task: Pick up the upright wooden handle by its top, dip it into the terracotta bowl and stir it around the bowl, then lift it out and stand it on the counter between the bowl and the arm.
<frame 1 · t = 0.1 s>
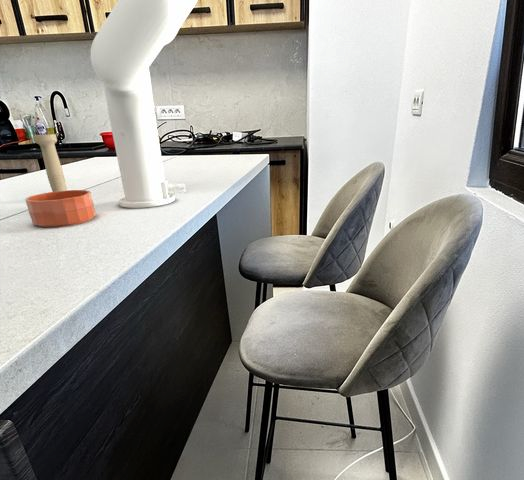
handle: (62, 200, 111), on the table
bowl: (65, 221, 87), on the table
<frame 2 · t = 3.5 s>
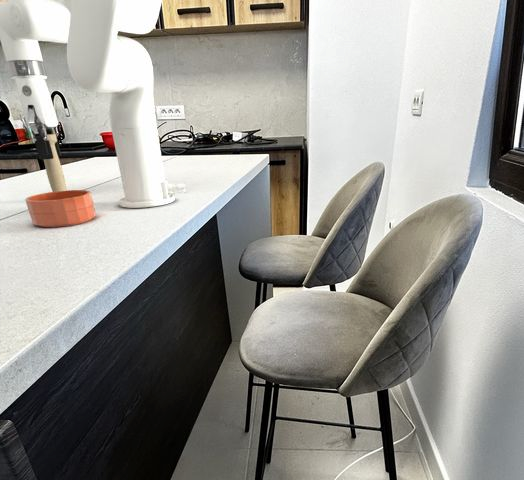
hand: (50, 157, 106), 10 cm above the table, tool pointing down, fingers closed on handle, 6 cm apart
handle: (62, 200, 111), on the table, touching gripper
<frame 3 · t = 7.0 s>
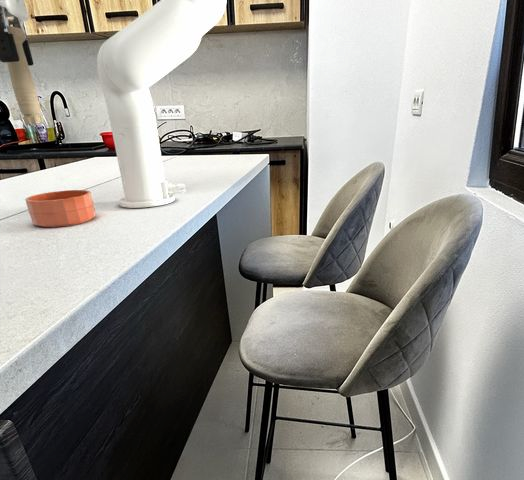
hand: (17, 62, 79), 27 cm above the table, tool pointing down, fingers closed on handle, 6 cm apart
handle: (34, 125, 84), point 17 cm above the table, touching gripper
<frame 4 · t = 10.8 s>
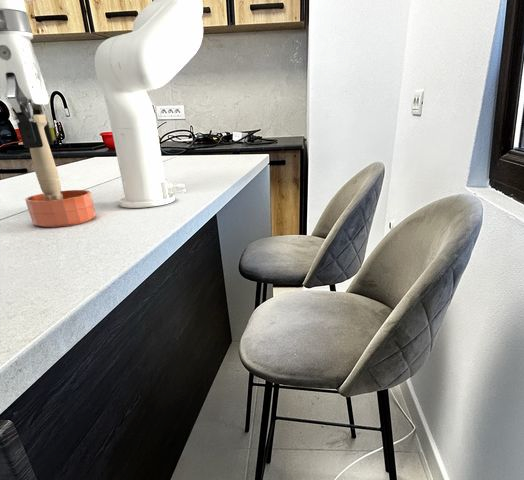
hand: (39, 145, 80), 14 cm above the table, tool pointing down, fingers closed on handle, 6 cm apart
handle: (55, 202, 85), point 4 cm above the table, touching gripper
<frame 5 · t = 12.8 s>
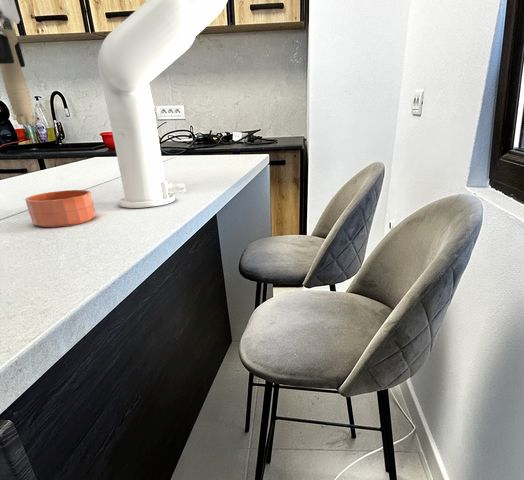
hand: (10, 64, 81), 28 cm above the table, tool pointing down, fingers closed on handle, 6 cm apart
handle: (27, 125, 86), point 17 cm above the table, touching gripper
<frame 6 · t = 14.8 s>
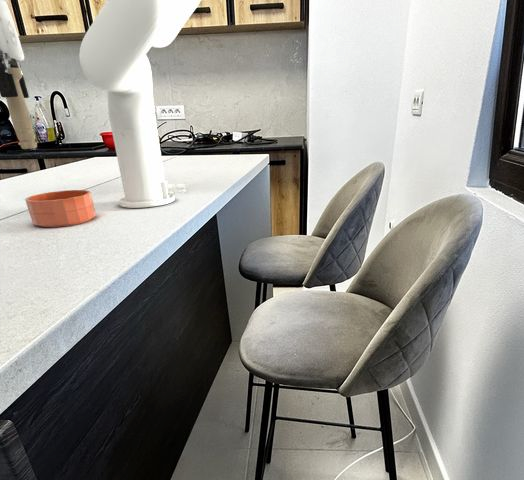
hand: (15, 96, 91), 23 cm above the table, tool pointing down, fingers closed on handle, 6 cm apart
handle: (30, 149, 96), point 12 cm above the table, touching gripper
when the fingers open (10 cm above the table, at t = 18.1 s): handle stays where it is, on the table.
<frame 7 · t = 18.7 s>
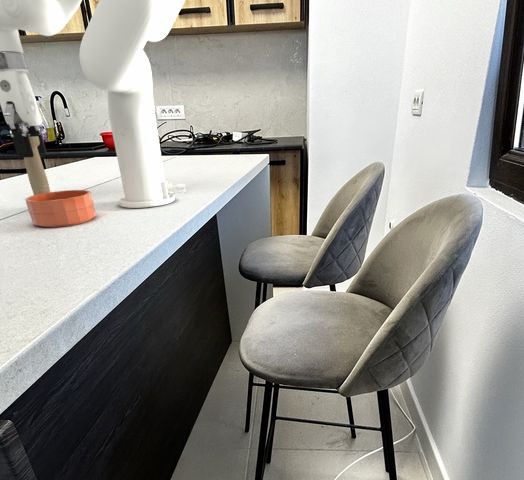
hand: (33, 155, 97), 11 cm above the table, tool pointing down, fingers open, 9 cm apart
handle: (46, 207, 103), on the table
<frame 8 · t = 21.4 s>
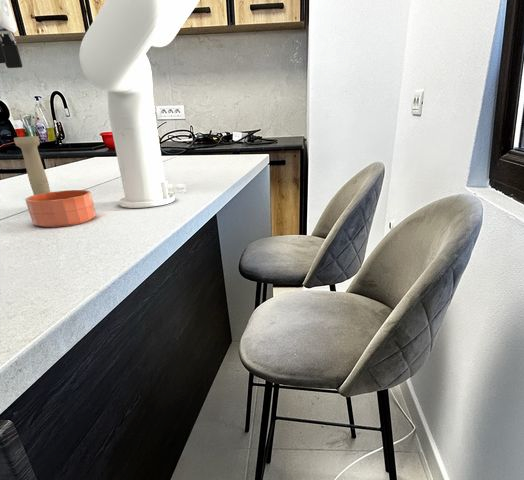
hand: (6, 65, 89), 28 cm above the table, tool pointing down, fingers open, 9 cm apart
nothing on the table moved.
at the end: handle 0.3 cm from the target spot on the table beside the bowl, on the table; handle tilted 0°; the gripper is holding nothing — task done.
